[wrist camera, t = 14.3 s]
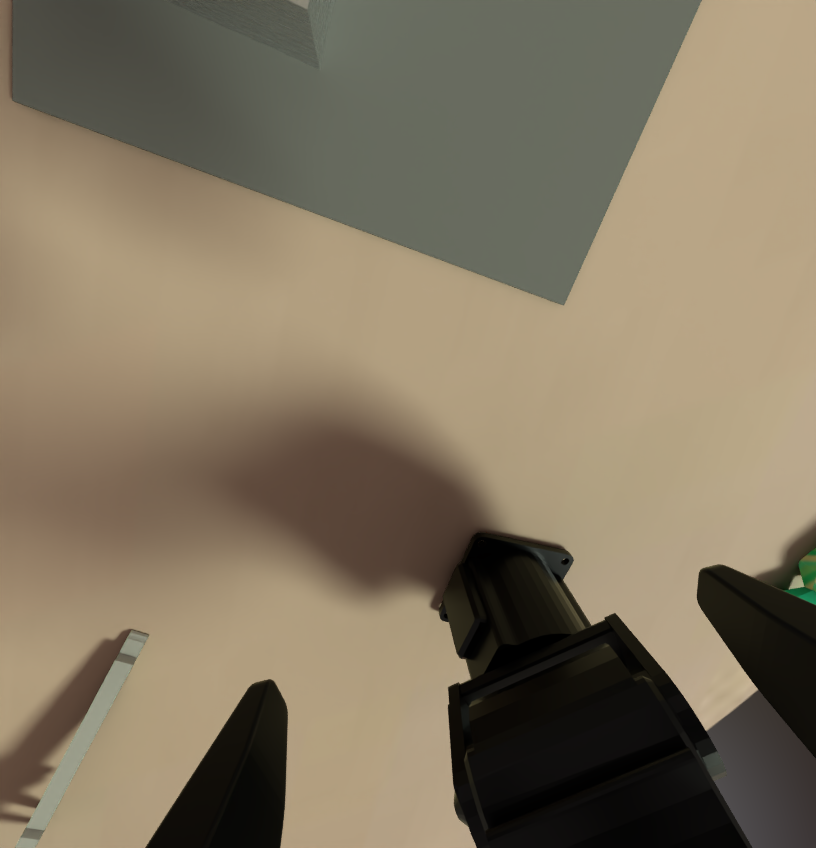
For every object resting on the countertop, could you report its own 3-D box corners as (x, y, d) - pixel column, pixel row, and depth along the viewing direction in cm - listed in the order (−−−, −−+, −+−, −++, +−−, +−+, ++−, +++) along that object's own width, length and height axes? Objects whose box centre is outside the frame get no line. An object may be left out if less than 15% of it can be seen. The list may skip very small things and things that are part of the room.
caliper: (51, 820, 30) (-22, 957, 24) (34, 817, 29) (-44, 955, 24) (152, 630, 24) (88, 749, 18) (133, 624, 24) (61, 744, 18)
